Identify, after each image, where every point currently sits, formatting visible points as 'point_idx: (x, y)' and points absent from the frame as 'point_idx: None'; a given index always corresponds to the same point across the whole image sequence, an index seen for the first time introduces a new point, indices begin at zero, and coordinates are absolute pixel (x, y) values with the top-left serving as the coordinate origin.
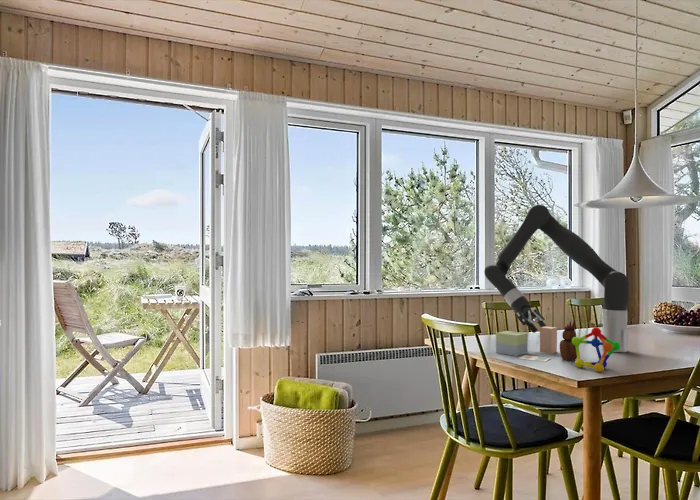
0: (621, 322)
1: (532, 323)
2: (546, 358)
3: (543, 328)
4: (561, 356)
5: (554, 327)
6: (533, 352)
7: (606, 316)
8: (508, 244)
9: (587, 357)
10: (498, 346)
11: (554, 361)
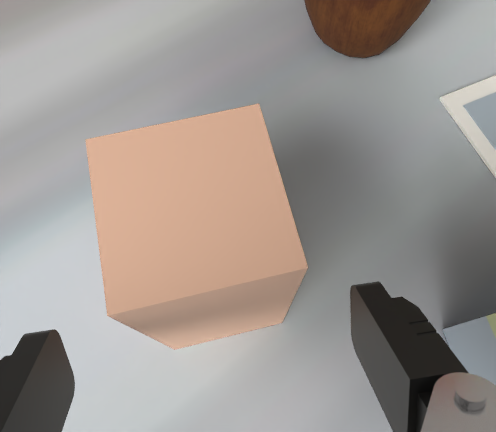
0: None
1: (413, 366)
2: (485, 96)
3: (290, 219)
4: (397, 40)
5: (107, 163)
6: None
7: None
8: None
9: (167, 28)
10: None
11: (481, 41)
